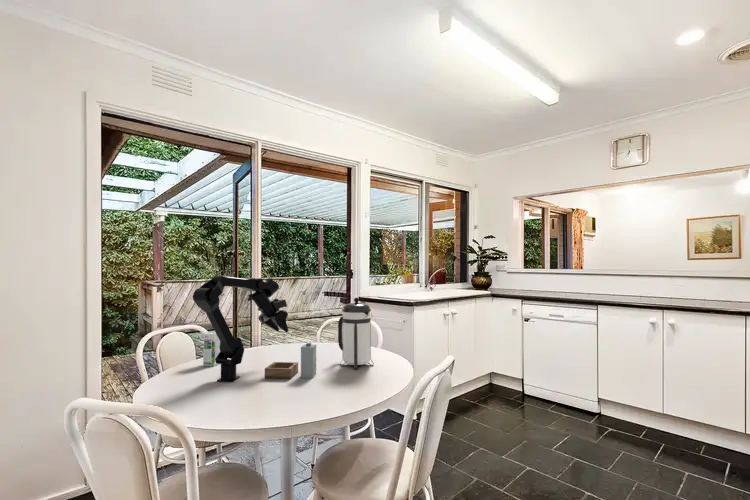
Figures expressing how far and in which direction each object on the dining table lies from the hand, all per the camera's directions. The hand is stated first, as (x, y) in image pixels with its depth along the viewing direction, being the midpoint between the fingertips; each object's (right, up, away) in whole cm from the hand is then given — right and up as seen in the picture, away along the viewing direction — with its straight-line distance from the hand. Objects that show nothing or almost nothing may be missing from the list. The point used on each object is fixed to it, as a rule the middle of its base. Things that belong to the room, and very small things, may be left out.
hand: (282, 331), depth 172 cm
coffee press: (+32, -15, 0) cm, 35 cm away
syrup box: (-32, -16, +2) cm, 36 cm away
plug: (+14, -14, -17) cm, 26 cm away
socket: (+3, -14, -16) cm, 22 cm away
